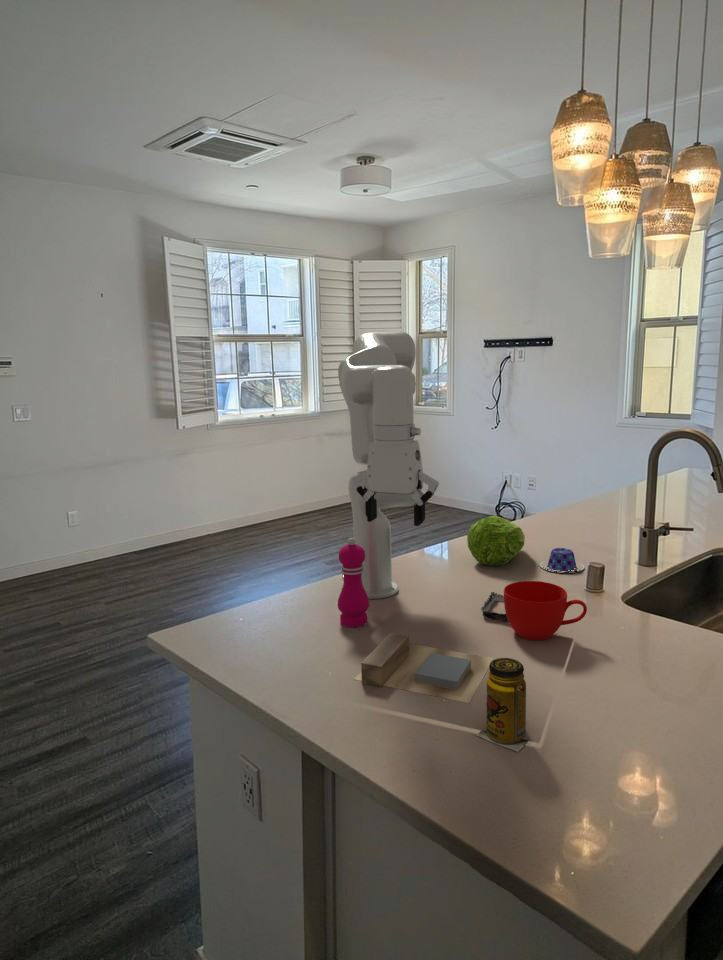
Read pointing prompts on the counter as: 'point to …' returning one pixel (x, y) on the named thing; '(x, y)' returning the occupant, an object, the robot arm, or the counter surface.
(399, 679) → the cork mat
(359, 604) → the pepper mill
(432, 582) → the counter surface
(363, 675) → the walnut turner
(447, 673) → the slate tile
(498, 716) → the condiment
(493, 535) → the lettuce
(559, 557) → the blue bucket hat
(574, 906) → the counter surface
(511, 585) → the ceramic cup
